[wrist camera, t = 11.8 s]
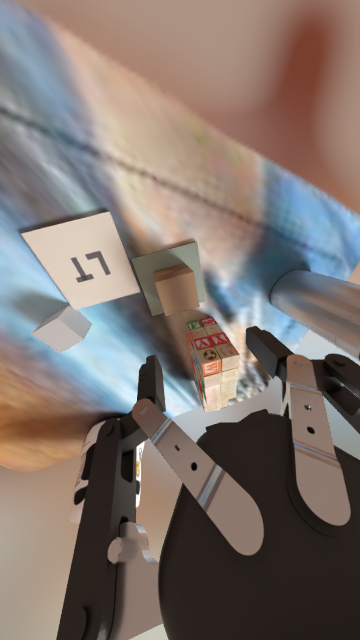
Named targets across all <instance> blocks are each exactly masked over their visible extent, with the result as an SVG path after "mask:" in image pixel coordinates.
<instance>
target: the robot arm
mask: <svg viewBox="0 0 360 640" xmlns="http://www.w3.org/2000/svg"><path fill="white" fill-rule="evenodd" d="M271 303H272V305H273V306H274V307H275V308H277V309H278V310H280V311H281V312H283V313H284V314H286V315H287V316H289V317H291V318H292V319H294V320H295V321H297V322H298V323H300V324H302V325H303V326H305V327H306V328H308V329H309V330H311V331H313V332H314V333H316V334H317V335H319V336H321V337H322V338H324V339H325V340H327V341H328V342H330V343H332V344H333V345H335V346H336V347H338V348H340V349H341V350H343V351H344V352H346V353H348V354H349V355H351V356H352V357H354V358H355V359H357V360H358V361H360V285H358V284H354V283H350V282H347V281H343V280H340V279H336V278H333V277H329V276H326V275H322V274H318V273H315V272H309V271H305V270H301V269H298V270H293V271H291V272H288V273H287V274H285V275H284V276H283V277H282V278H280V279H279V281H278V282H277V283H276V284H275V286H274V288H273V290H272V292H271ZM246 345H247V347H248V349H249V350H250V351H251V352H252V353H253V355H254V356H255V357H256V358H257V360H258V361H259V362H260V363H261V365H262V366H263V367H264V368H265V369H266V371H267V372H268V373H269V374H270V376H271V377H272V378H273V379H277V378H280V380H281V412H280V415H277V414H272V413H268V411H267V410H266V409H263V410H260V411H257V412H253V413H251V414H249V415H248V416H247V417H245V418H244V419H242V420H241V421H239V422H236V423H217V424H214V425H211V426H208V427H206V431H207V432H205V433H204V434H203V435H202V436H201V437H200V438H199V439H198V441H197V442H196V443H195V442H194V441H193V440H192V439H191V438H190V437H189V436H188V435H187V434H186V433H185V432H184V431H183V430H182V429H181V428H180V427H179V426H177V424H176V423H175V422H173V421H172V420H171V419H169V418H167V417H166V416H165V415H164V414H163V413H162V412H165V411H166V407H165V396H164V385H163V374H162V368H161V365H160V363H159V361H158V359H157V356H156V355H151V356H148V357H147V358H146V364H143V365H142V366H141V368H140V370H139V380H138V381H139V382H138V394H137V402H136V404H135V405H134V407H133V409H132V411H131V412H129V413H128V414H127V415H125V416H124V417H122V418H120V419H119V420H118V419H117V418H111V419H109V420H107V421H106V422H105V423H104V424H103V425H102V426H101V427H100V429H99V432H98V435H97V440H96V445H95V450H94V455H93V460H92V465H91V470H90V475H89V480H88V485H87V490H86V495H85V500H84V505H83V510H82V515H81V520H80V524H79V529H78V534H77V540H76V544H75V549H74V555H73V560H72V564H71V569H70V574H69V580H68V584H67V589H66V594H65V599H64V604H63V609H62V614H61V619H60V624H59V629H58V634H57V639H56V640H129V639H131V638H133V637H135V636H137V635H139V634H141V633H143V632H145V631H147V630H149V629H152V628H154V627H156V626H158V625H160V624H162V623H163V624H164V627H165V630H166V633H167V636H168V639H169V640H360V460H358V459H357V458H355V457H353V456H352V455H350V454H348V453H346V452H344V451H343V450H341V449H340V448H338V447H336V446H334V445H333V441H332V437H331V432H330V427H329V423H328V418H327V413H326V409H325V404H324V399H323V396H324V397H325V398H326V399H327V400H328V401H329V402H330V403H331V404H332V405H333V407H335V409H337V411H338V412H339V413H340V414H341V415H342V416H343V417H344V418H345V419H346V420H347V421H348V422H349V423H350V424H351V425H352V426H353V427H354V429H355V430H356V431H357V432H358V433H359V434H360V366H359V365H358V364H356V363H355V362H354V361H352V360H351V359H349V358H348V357H346V356H343V355H339V354H328V355H326V357H325V359H323V360H309V359H308V358H306V357H304V356H302V355H297V354H294V353H293V352H292V351H290V350H289V349H288V348H287V347H286V346H285V345H284V344H283V343H281V342H280V341H279V340H278V339H277V338H275V336H273V335H272V334H271V333H270V332H268V331H265V330H260V329H259V328H258V327H257V326H253V327H250V328H247V329H246ZM345 386H346V387H347V388H348V389H349V390H348V389H347V388H346V387H345ZM353 393H354V394H355V395H356V396H357V397H356V396H355V395H354V394H353ZM148 438H150V440H151V441H152V443H153V444H154V446H156V448H157V449H158V451H159V452H160V453H161V455H162V456H163V457H164V459H165V460H166V461H167V463H168V464H169V465H170V466H171V468H172V469H173V470H174V472H175V473H176V474H177V475H178V477H179V478H180V479H181V480H182V482H183V483H182V486H181V489H180V492H179V496H178V499H177V502H176V505H175V508H174V512H173V515H172V518H171V521H170V524H169V528H168V531H167V534H166V537H165V540H164V544H163V547H162V551H161V556H160V561H159V562H157V561H156V560H155V559H154V558H153V556H152V555H151V552H150V549H149V543H148V536H147V533H146V530H145V528H144V527H143V526H142V525H140V524H137V523H136V459H137V446H139V445H140V444H141V443H143V442H144V441H145V440H147V439H148Z"/></svg>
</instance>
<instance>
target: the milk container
mask: <svg viewBox="0 0 360 640" xmlns="http://www.w3.org/2000/svg"><path fill="white" fill-rule="evenodd" d="M115 418H117V419H118V420H119V419H120V418H122V417H115ZM110 419H111V418H110ZM107 420H109V419H106V420H103V421H101V422H99V423H97V424H95V425H94V426H93V427H92V428H91V429H90V430H89V432H88V433H87V435H86V438H85V440H84V443H83V446H82V451H81V466H80V471H79V474H78V478H77V481H76V485H75V488H74V492H73V498H72V501H71V505H70V510H69V515H68V521H69V522H71V523H78V524H79V523H80V520H81V515H82V510H83V505H84V500H85V495H86V490H87V485H88V480H89V475H90V470H91V465H92V460H93V455H94V450H95V445H96V440H97V435H98V432H99V429H100V427H101V426H102V425H103V424H104V423H105V422H106V421H107ZM143 447H144V442H143V443H141V444H140V445H139V446H137V459H136V507H137V506H138V505H139V500H140V481H141V456H142V452H143Z"/></svg>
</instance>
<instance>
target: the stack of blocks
mask: <svg viewBox="0 0 360 640" xmlns="http://www.w3.org/2000/svg"><path fill="white" fill-rule="evenodd" d="M186 325H187V332H188V334H187V335H188V342H189V349H190V354H191V360H192V365H193V375H194V381H195V384H196V387H197V391H198V394H199V397H200V400H201V402H202V405H203V408H204V412H209V411H212V410H216V409H219V408H222V407H226V406H228V399H232V398H235V397H236V383H237V375H238V367H239V358H240V355H239V353H238V352H237V350H236V349H235V347H234V346H233V345H232V344H231V342H230V340H229V339H228V337H227V336H226V335H225V333H224V332H223V331H222V330H221V328H220V327H219V325H218V324H217V322H216V321H215V320H214V318H213V317H210V318H205V319H201V320H197V321H193V322H188V323H186Z"/></svg>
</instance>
